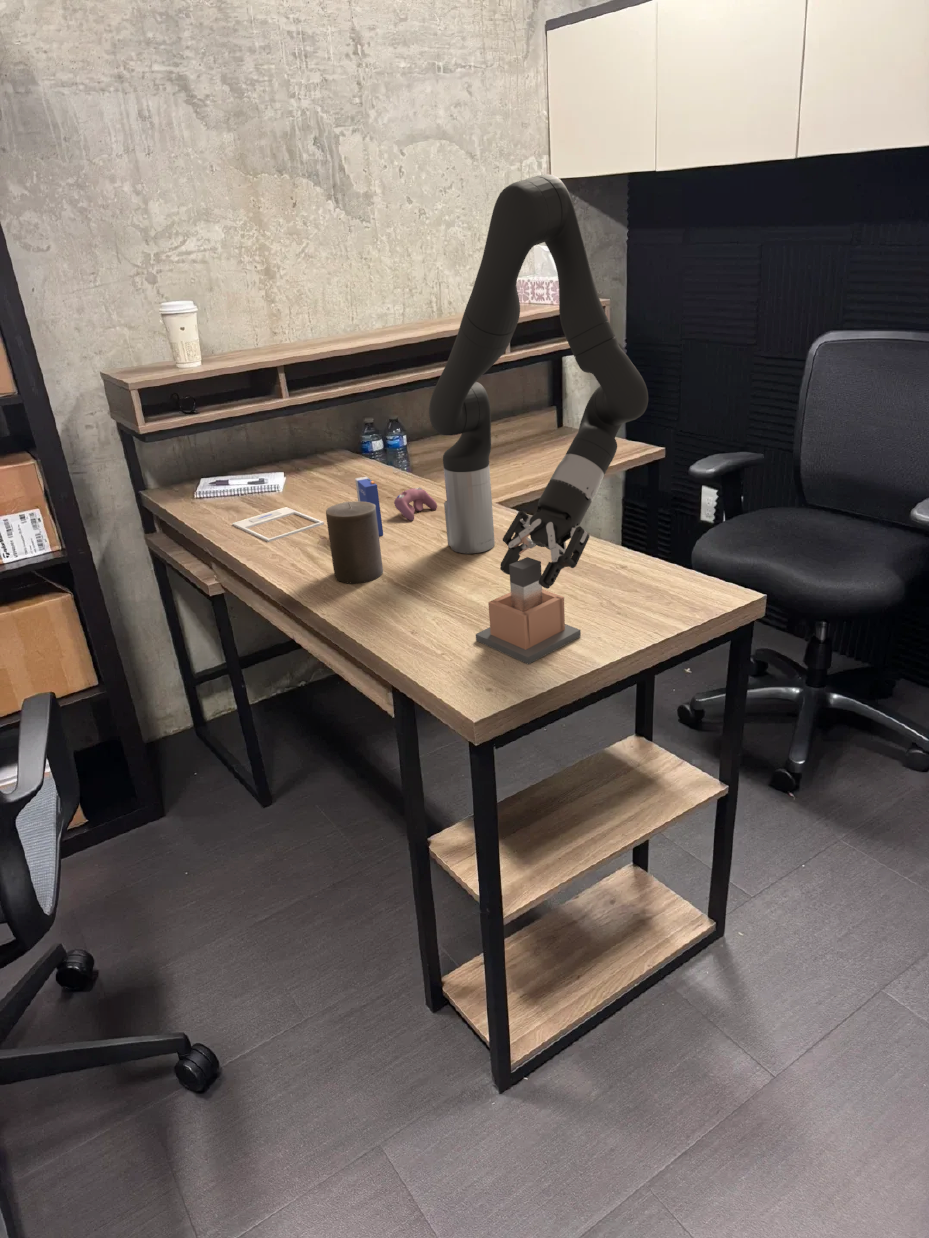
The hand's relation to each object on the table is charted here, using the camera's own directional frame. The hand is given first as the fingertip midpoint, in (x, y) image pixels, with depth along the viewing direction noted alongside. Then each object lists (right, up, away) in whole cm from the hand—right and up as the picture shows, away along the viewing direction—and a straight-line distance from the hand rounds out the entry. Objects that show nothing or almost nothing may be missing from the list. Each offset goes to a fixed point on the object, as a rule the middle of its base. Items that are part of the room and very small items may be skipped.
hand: (523, 579), depth 131 cm
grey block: (+1, -8, +4) cm, 9 cm away
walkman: (-30, +13, +57) cm, 66 cm away
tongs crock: (+1, -9, +5) cm, 11 cm away
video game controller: (-20, +18, +66) cm, 71 cm away
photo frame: (-53, +15, +67) cm, 87 cm away
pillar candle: (-30, +3, +35) cm, 46 cm away
